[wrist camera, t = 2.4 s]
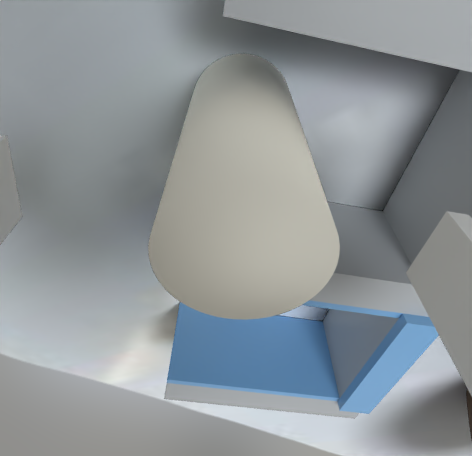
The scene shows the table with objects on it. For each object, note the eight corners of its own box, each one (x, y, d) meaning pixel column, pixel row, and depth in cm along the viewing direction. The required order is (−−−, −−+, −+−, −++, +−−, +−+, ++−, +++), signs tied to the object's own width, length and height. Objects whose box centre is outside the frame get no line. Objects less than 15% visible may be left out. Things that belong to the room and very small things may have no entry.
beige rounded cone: (199, 42, 16) (154, 159, 8) (303, 65, 17) (371, 197, 8) (187, 142, 19) (144, 308, 10) (276, 158, 20) (305, 328, 11)
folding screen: (237, -69, 14) (236, -75, 9) (541, 8, 15) (697, 43, 10) (176, 322, 28) (162, 408, 23) (336, 343, 30) (356, 427, 25)
